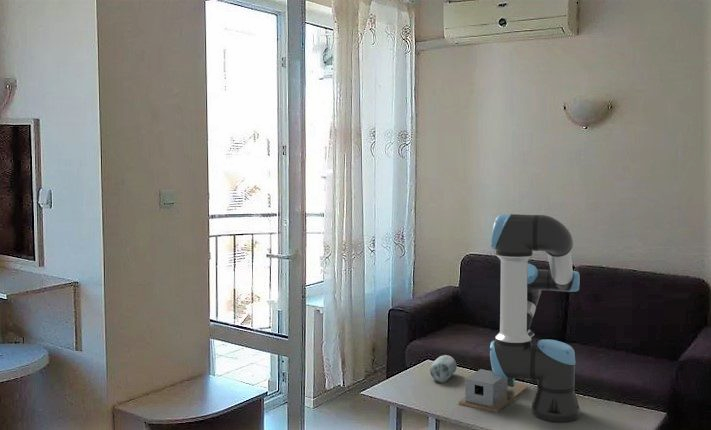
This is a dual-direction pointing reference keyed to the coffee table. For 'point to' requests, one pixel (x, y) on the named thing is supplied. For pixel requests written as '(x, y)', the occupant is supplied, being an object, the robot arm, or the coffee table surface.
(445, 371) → the spool
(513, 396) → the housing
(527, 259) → the robot arm
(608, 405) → the coffee table surface
